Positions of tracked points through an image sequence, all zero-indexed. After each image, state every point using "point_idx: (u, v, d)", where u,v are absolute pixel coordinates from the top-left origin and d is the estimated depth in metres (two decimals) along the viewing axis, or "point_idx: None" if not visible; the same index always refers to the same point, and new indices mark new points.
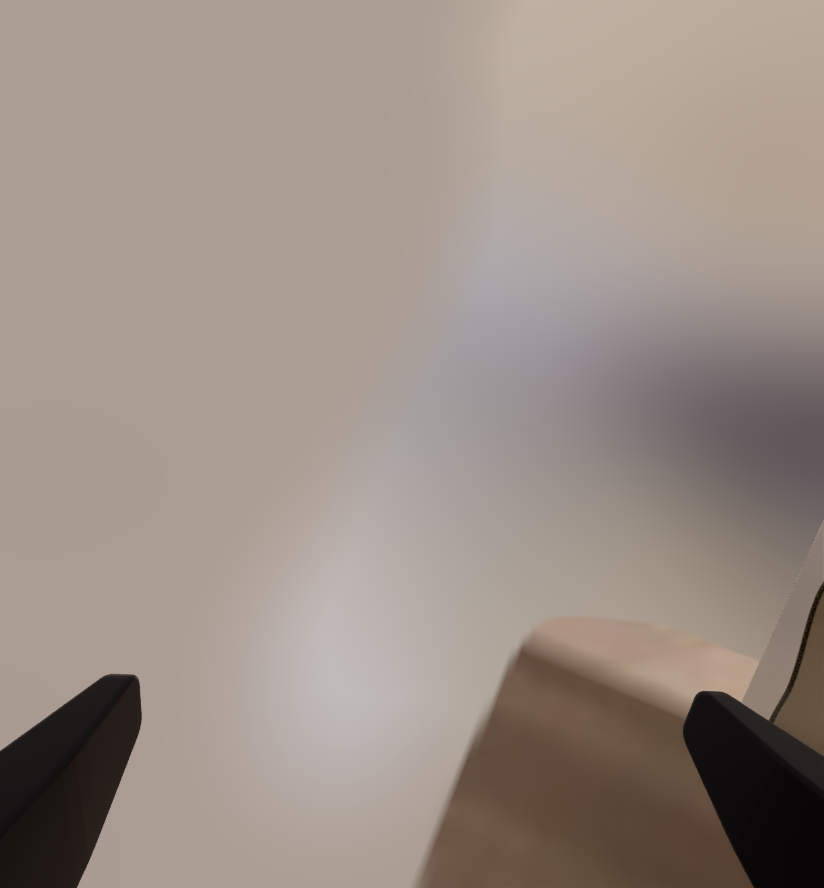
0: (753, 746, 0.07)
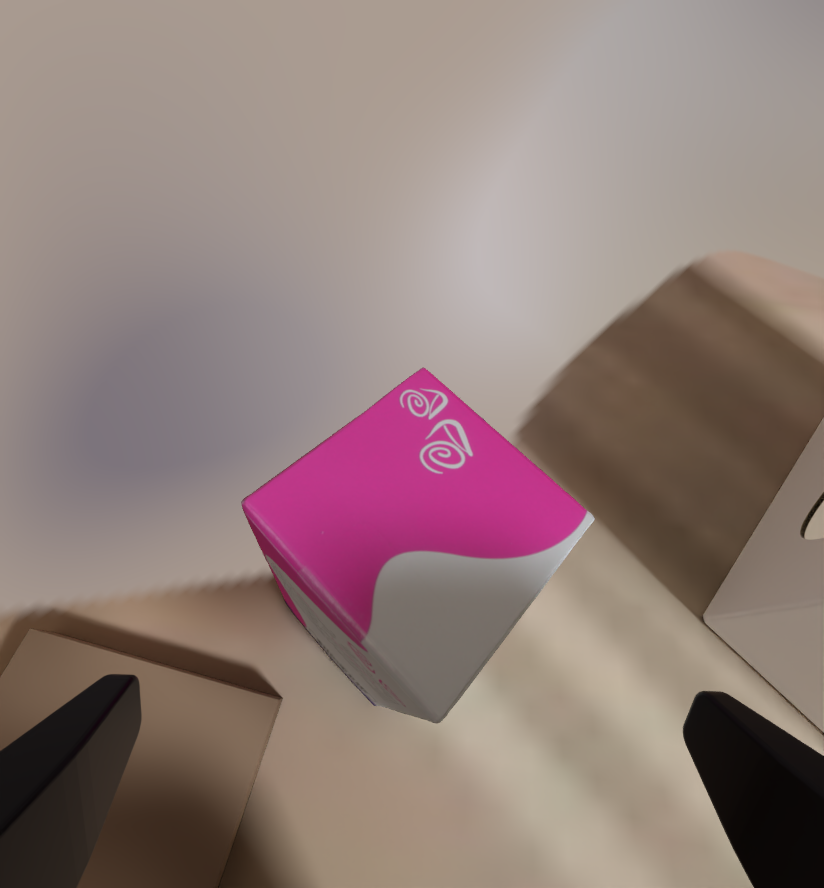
0: (753, 746, 0.07)
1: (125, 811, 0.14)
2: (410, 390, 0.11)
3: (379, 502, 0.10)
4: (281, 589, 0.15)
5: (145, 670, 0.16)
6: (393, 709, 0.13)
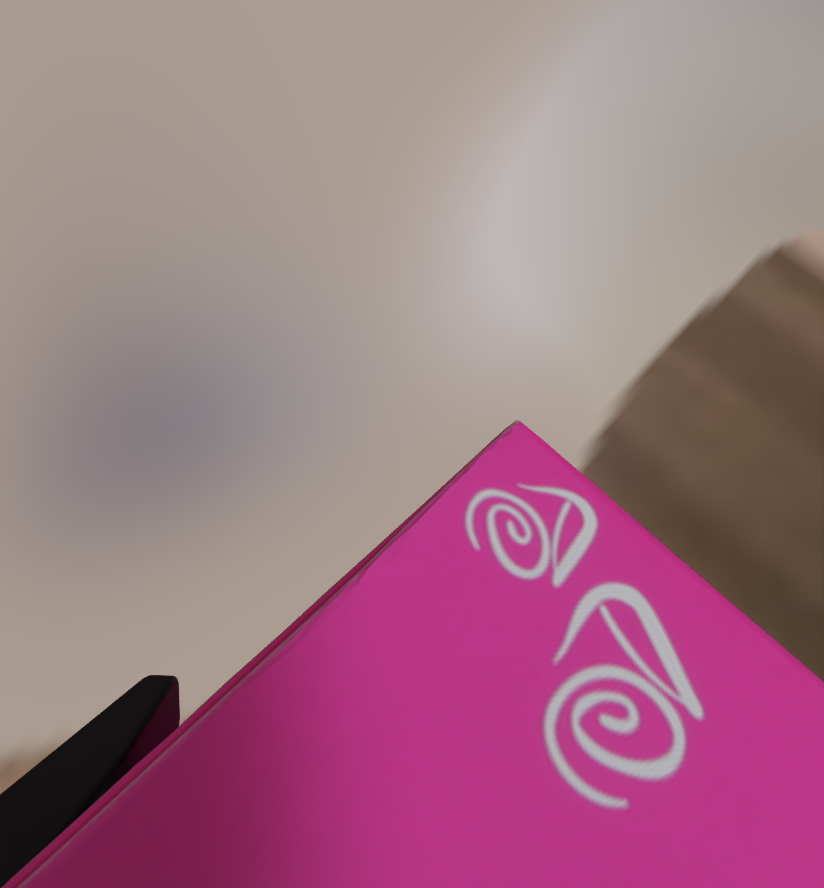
0: None
1: None
2: (492, 490, 0.04)
3: None
4: None
5: None
6: None
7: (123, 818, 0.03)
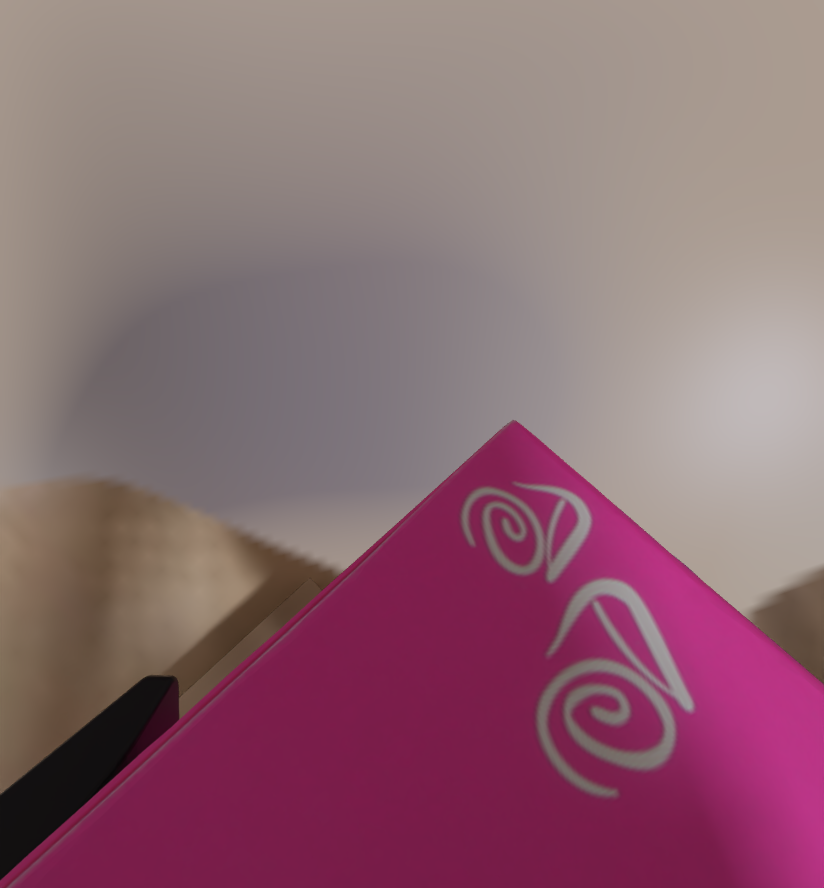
0: None
1: None
2: (487, 488, 0.04)
3: None
4: None
5: None
6: None
7: (129, 803, 0.03)
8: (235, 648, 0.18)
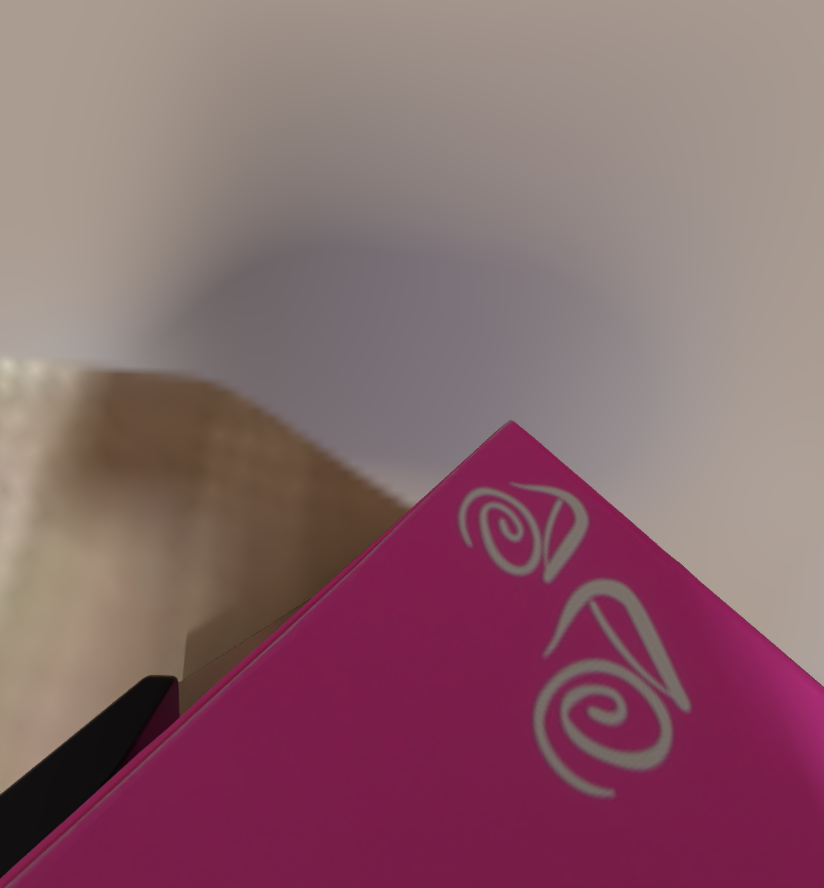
0: None
1: None
2: (484, 488, 0.04)
3: None
4: None
5: None
6: None
7: (125, 805, 0.03)
8: None
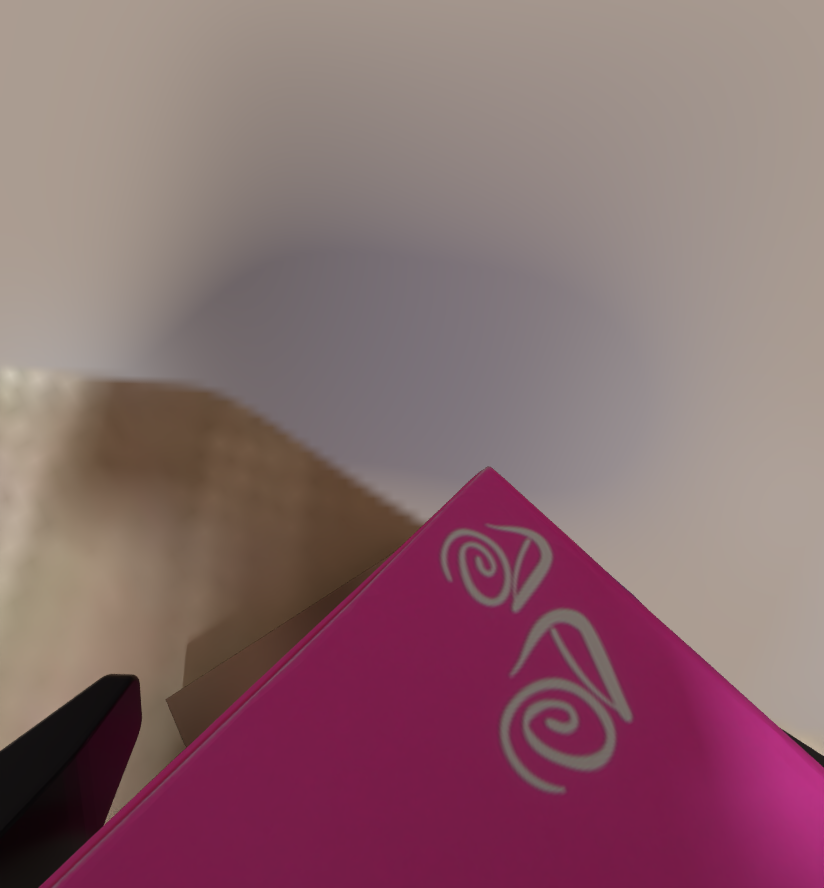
0: None
1: None
2: (463, 529, 0.05)
3: None
4: None
5: None
6: None
7: (167, 800, 0.03)
8: (330, 596, 0.15)
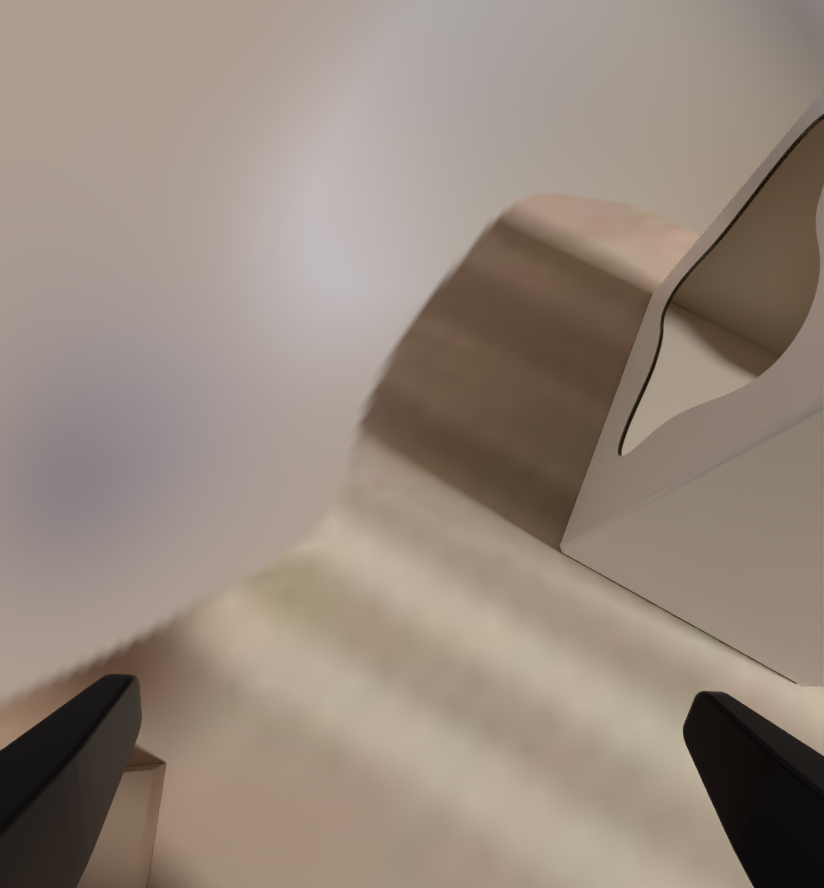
0: (753, 746, 0.07)
1: None
2: None
3: None
4: None
5: None
6: None
7: None
8: None
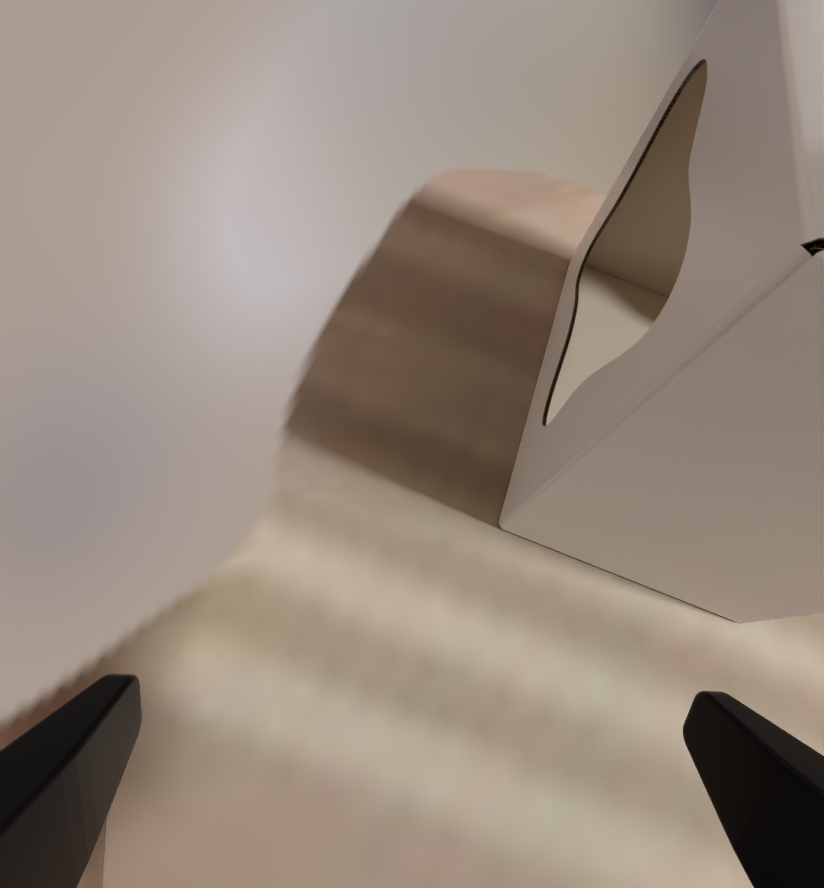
0: (753, 746, 0.07)
1: None
2: None
3: None
4: None
5: None
6: None
7: None
8: None
